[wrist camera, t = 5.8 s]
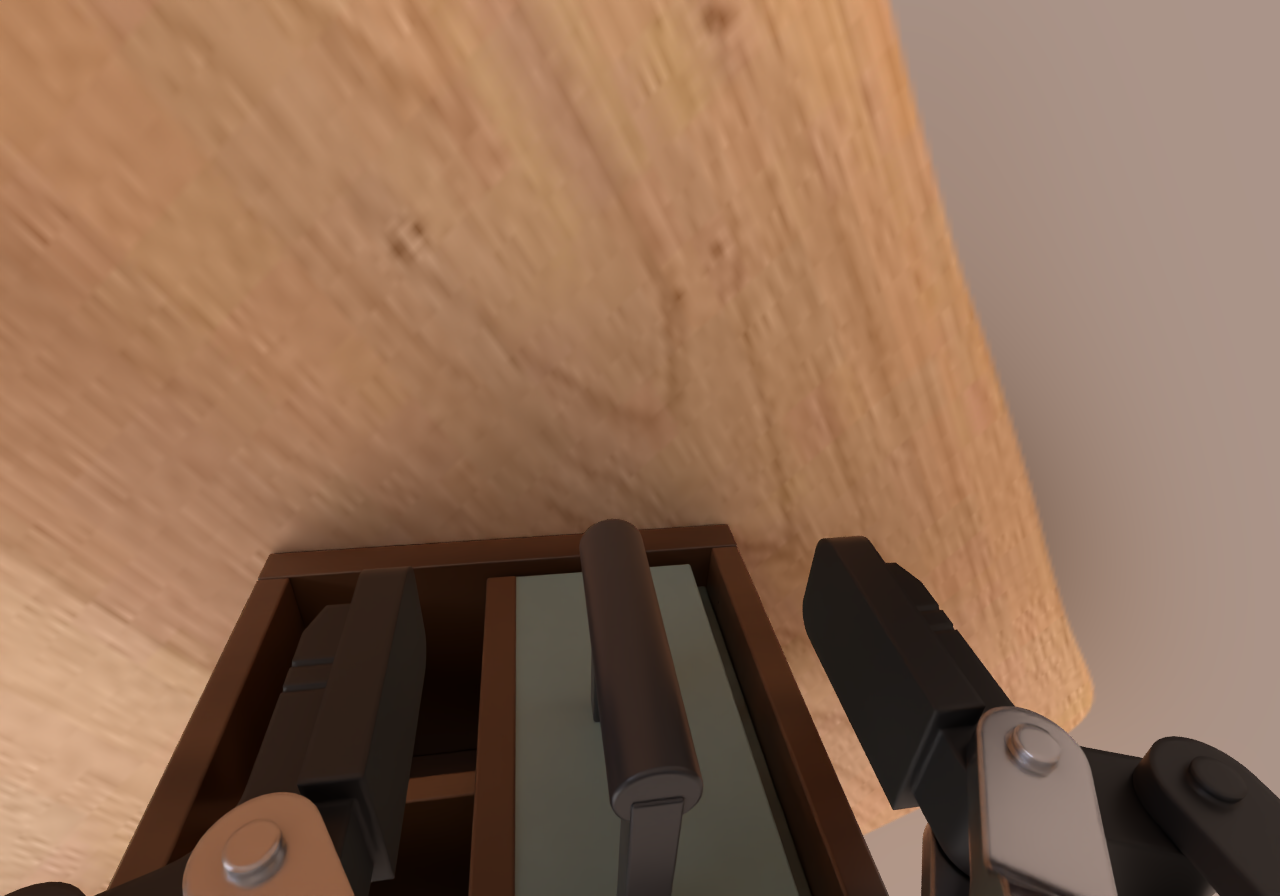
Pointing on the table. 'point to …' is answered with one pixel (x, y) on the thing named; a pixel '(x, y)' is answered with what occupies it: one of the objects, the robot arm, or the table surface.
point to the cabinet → (449, 710)
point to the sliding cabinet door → (614, 739)
